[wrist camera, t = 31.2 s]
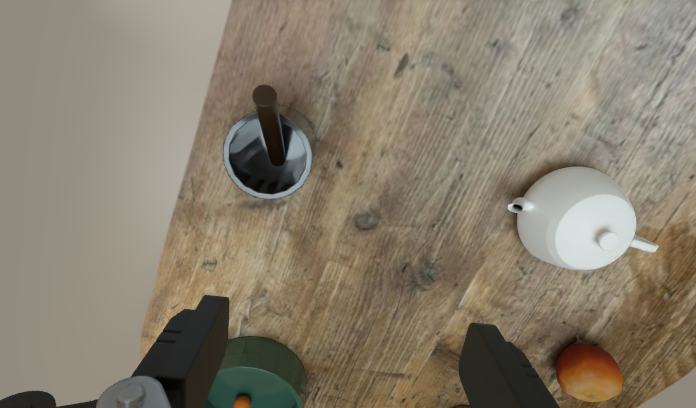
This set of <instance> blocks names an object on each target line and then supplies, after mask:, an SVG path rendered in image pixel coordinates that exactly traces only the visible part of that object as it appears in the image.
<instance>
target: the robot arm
mask: <svg viewBox="0 0 696 408" xmlns="http://www.w3.org/2000/svg"><path fill="white" fill-rule="evenodd" d="M228 326H229V298H228V297H220V296H210V295H205V296H204V297H203V298H202V300H201V301H200V303H199V305H198V306H197V308H196V309H195V310H189V309H184V310H183V311H181V312H180V313H178V314H177V315H175V316H174V317H172V318H171V319H170V321H169V322H168V324H167V325H166V327H165V328H164V329H163V332H161V334H160V335H159V337H158V338H157V341H156V342H155V343H154V344H153V345H152V347H151V348H150V350H149V351H148V353H147V354H146V356H145V357H144V358H143V360H142V361H141V363H140V364H139V366H138V367H137V369H136V370H135V371H134V373H133V374H132V376H131V377H130V378H127V379H123V380H121V381H119V382H117V383H115V384H113V385H112V386H110V387H109V388H108V389H106V390H105V391H104V392H103V394H102V395H101V396H100V397H99V399H97V400H94V401H90V402H84V403H78V404H73V405H66V406H60V407H56V403H55V399H54V397H53V396H52V395H51V394H49V393H47V392H43V391H28V392H23V393H18V394H15V395H12V396H9V397H7V398H5V399H2V400H0V408H203V407H204V405H205V403H206V400H207V398H208V395H209V393H210V390H211V388H212V385H213V383H214V380H215V378H216V376H217V373H218V371H219V368H220V366H221V363H222V361H223V358H224V356H225V352H226V348H227V342H228ZM459 376H460V380H461V383H462V385H463V388H464V390H465V393H466V395H467V398H468V400H469V403H470V405H471V408H560V407H559V406H558V404H557V403H556V401H555V400H554V398H553V397H552V395H551V394H550V392H549V391H548V389H547V388H546V386H545V385H544V383H543V382H542V380H541V379H539V376H538V374H537V373H536V371H535V369H534V368H532V365H531V363H530V362H529V360H528V359H527V357H526V356H525V354H524V353H523V352H522V351H520V350H519V349H518V348H517V347H516V346H515V345H514V344H512V343H511V342H506V341H505V339H504V338H503V336H502V335H501V333H500V331H499V330H498V328H497V327H496V326H495V325H490V324H480V323H471V324H470V325H469V327H468V331H467V334H466V338H465V342H464V345H463V349H462V353H461V356H460V360H459Z"/></svg>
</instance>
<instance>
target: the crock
mask: <svg viewBox="0 0 696 408" xmlns="http://www.w3.org/2000/svg"><path fill="white" fill-rule="evenodd" d="M278 108H279V115H280V122H281V129H282V136H283V143H284V150H285V157H286V160H285V163H284V164H283V165H281V166H274V165H273V164H272V163H271V162H270V159H269V155H268V151H267V148H266V144H265V141H264V137H263V133H262V130H261V126H260V123H259V119H258V115H257V112H256V111H255V112H252V113H250V114H248V115H246V116H244V117H243V118H241V119H240V120H239V121H238V122H237V123H235V124H234V125H233V126H232V127H231V128H230V130H229V132H228V134H227V136H226V139H225V141H224V143H223V162H224V165H225V167H226V170H227V173H228V175H229V177H230V178H231V179H232V180H233V182H234V183H235V184H236V185H237V186H238V187H239V188H240V189H241V190H242V191H244V192H246V193H248V194H250V195H252V196H254V197H257V198H263V199H271V200H273V199H278V198H282V197H286V196H289V195H291V194H292V193H293V192H295V191H296V190H297V189H299V188H300V187H301V186H302V185H303V184H304V182H305V181H306V179H307V177H308V175H309V173H310V172H311V168H312V164H313V159H314V155H315V148H316V138H315V133H314V130H313V127H312V126H311V124H310V122H309V121H308V119H307V118H306V117H305V116H304V115H303V114H302V113H300V112H299V111H297V110H295V109H293V108H291V107H288V106H283V105H278Z"/></svg>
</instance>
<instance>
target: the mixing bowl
mask: <svg viewBox="0 0 696 408" xmlns="http://www.w3.org/2000/svg"><path fill="white" fill-rule="evenodd" d="M305 393H306V374H305V370H304V367H303V365H302V363H301V362H300V360H299V358H298V357H297V356H296V355H295V354H294V353H293V352H292V351H291V350H290V349H288V348H287V347H286V346H284V345H282V344H280V343H278V342H276V341H273V340H271V339H267V338H262V337H240V338H235V339H232V340H229V341H228V342H227V348H226V352H225V356H224V358H223V361H222V363H221V366H220V368H219V371H218V373H217V376H216V378H215V380H214V383H213V385H212V388H211V390H210V393H209V395H208V398H207V400H206V403H205V405H204V407H203V408H233V404H234V401H235V399H236V398H237V397H239V396H242V395H245V396H247V397H248V398H249V399H250V402H251V406H250V408H304V405H305Z"/></svg>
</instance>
